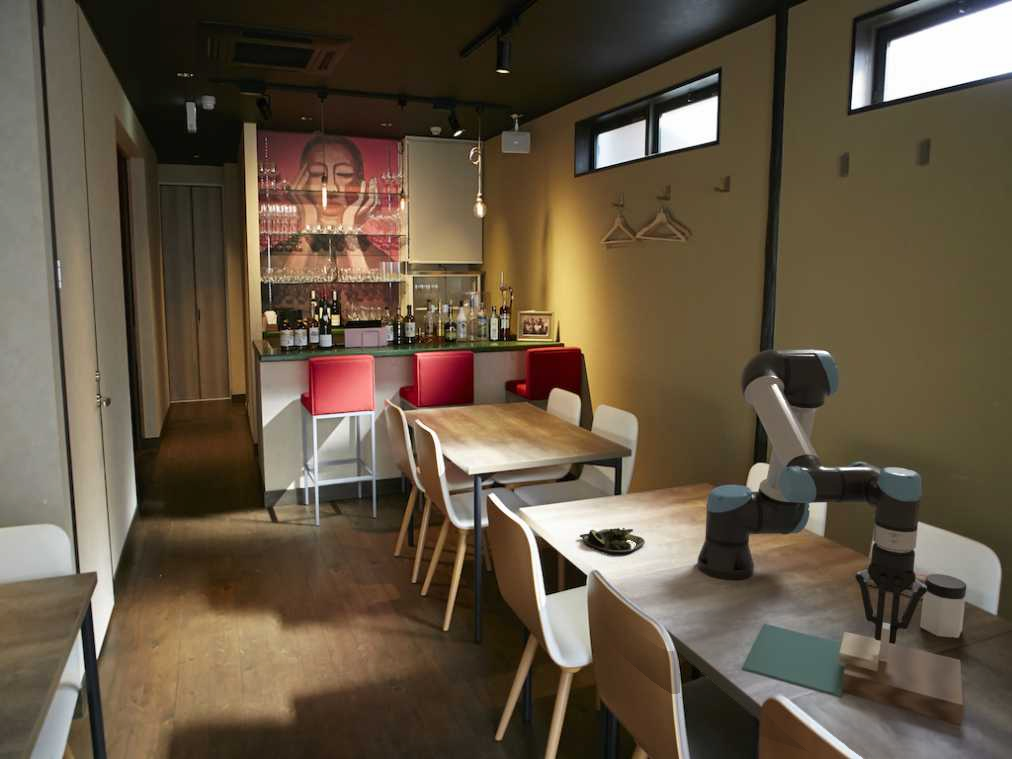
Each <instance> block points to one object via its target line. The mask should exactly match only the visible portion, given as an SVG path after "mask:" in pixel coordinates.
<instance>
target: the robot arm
mask: <svg viewBox="0 0 1012 759" xmlns="http://www.w3.org/2000/svg"><path fill="white" fill-rule="evenodd" d="M839 375H840V374H839V369H838V366H837V362H836V360H835V358H834V357H833V355H832V354H831V353H830V352H828V351H825V350H822V349H813V348H809V349H767V350H763V351H760V352H758V353H756V354H755V355H754V356H752V357H751V358H750V359H749V360H748V361H747V363H746V364H745V366H744V368H743V370H742V373H741V376H740V388H741V392H742V394H743V397H744V399H745V400H746V402H747V403H748V404H749V405H750V406H753V408H754V410H755V412H756V414H757V416H758V418H759V420H760V423H761V424H762V426H763V429H764V431H765V433H766V435H767V437H768V439H769V441H770V443H771V445H772V450H771V455H770V461H769V465H768V470H767V475H766V478H765V479H763V480H761V481H760V483H759V487H758V491H752V489H751V488H750V487H748V486H745V485H743V484H742V485H741V484H738V485H737V484H723V485H720V486H717V487H714V488H712V489H711V490H710V491H709V492H708V494H707V501H706V505H705V509H706V518H705V538H704V542H703V544H702V546H701V550H700V551H699V554H698V556H697V569H698V570H699V571H701V572H702V573H704V574H706V575H707V576H711V577H713V578H718V579H723V580H731V581H732V580H733V581H734V580H744V579H749V578H750V577H752V576H753V575H754V573H755V572H754V571H755V570H754V569H755V564H754V559H753V556H752V552H751V550H750V545H749V542H750V541H749V540H750V535H777V534H779V535H780V534H781V535H790V534H798V533H800V532H802V531H803V530H804V529H805V528H806V526H807V524H808V521H809V518H810V510H809V508H810V504H811V503H812V504H814V503H865V504H868V505H869V506H871V507H873V508H875V514H874V525H873V526H874V528H873V538H872V539H873V540H872V541H873V542H874V543H873V544H872V547H871V559H870V560H871V561H870V563H869V565H868V566H867V567H868V569H867V570H866V569H865V570H864V569H863V570H857V571H856V573H855V580H856V582H857V583H858V585H859V586H860V592H861V597H862V598H861V599H862V602H863V608H864V614H865V619H866V620H867V621H868V622H871V623H873V624H874V625H875V629H874V638H875V640H879V641H881V643H880V654H879V658H882V659H886V660H887V658H888V648H889V643H891V644H895V645H896V642H897V631H898V630H899V629H902V630H906V629H908V627H909V625H910V622H911V620H912V617H913V615H914V613H915V610H916V608H917V606H918V603H919V601H920V600H921V599H920V598H921V597H922V596H923V595H924V594H925V593H926V592H927V585H926V584H925V583H921V582H920V581H918V580H917V579H916V576H915V573H916V572H915V571H914V568H915V557H916V551H915V549H916V548H917V537H918V526H919V525H918V524H919V518H920V517H919V516H920V510H921V508H920V507H921V501H922V496H923V494H922V493H923V492H922V479H923V478H922V476H921V475H920V474H919V473H918V472H917V471H914V470H913V469H907V468H903V467H893V466H891V467H889V466H888V467H884V468H883V467H882V469H881V468H880V467H878V466H876V465H873V464H872V463H867V462H865V461H854V462H851V463H850V464H848V465H846V466H824V464H823V463H822V462H821V460H820V458H819V456H818V454H817V453H816V451H815V449H814V447H813V445H812V443H811V441H810V440H811V435H812V430H813V426H814V422H815V421H814V420H815V416H816V411H817V410H818V409H821V408H822V407H823V406H824V404H825V400H826V397H830V396H834V394H836V392H837V391H838V387H839V385H840V384H839V383H840V379H839V378H840V377H839ZM914 572H915V573H914ZM869 575H870V576H871V578H872V579H873V581H874V583H875V584H876V586H877V587H876V588H878V597H877V606H876V607H877V609H876V614H875V613H874V609H873V603H872V598H871V592H870V588H869V585H868V581H869ZM911 584H913V588H912V589H913V593H912V595H911V596H910V598H909V601H908V603H907V605H906V608H905V610H904V612H903V615H902V617H901V619H899V611H900V601H901V594H900V592H903V591H904V590H905V589H907V588H908V587H909V586H910V585H911ZM888 591H889V592H891V593H892V602H891V614H890V623H887V622H884V615H885V613H884V612H885V604H886V594H887V592H888Z"/></svg>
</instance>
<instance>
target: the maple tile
mask: <svg viewBox="0 0 1012 759" xmlns="http://www.w3.org/2000/svg"><path fill="white" fill-rule="evenodd" d="M841 643H842V644H841V648H840V653H839V662H841V663H845V664H849V665H853V666H858V667H862V668H866V669H870V670H874V671H877V670H878V662H879V654H880V643H881V641H879V640H875V637H870V636H867V635H866V636H865V635H860V634H856V633H851V632H847V631H844V633H843V636H842V642H841Z"/></svg>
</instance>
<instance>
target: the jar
mask: <svg viewBox="0 0 1012 759" xmlns="http://www.w3.org/2000/svg"><path fill="white" fill-rule="evenodd" d="M926 575H927V576H926V580H925V584H926V585H927V592H926V593H925V594H924V595H923V600H922V603H921V606H922V607H921V616H920V624H919V626H920V628H921V629H923V630H925V631H927V632H928V633H931V634H933V635H935V636H936V637H943V638H952V637H953V639H955V638H956V639H959V638H960V636H961V633H962V632H963V622H964V615H965V607H966V606H965V605H966V598H967V597H966V595H967V593H966V592H967V583H966V582H964V581H963V580H961V579H960V578H957V577H954V576H951V575H947V574H943V573H942V574H941V573H931V574H926Z"/></svg>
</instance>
